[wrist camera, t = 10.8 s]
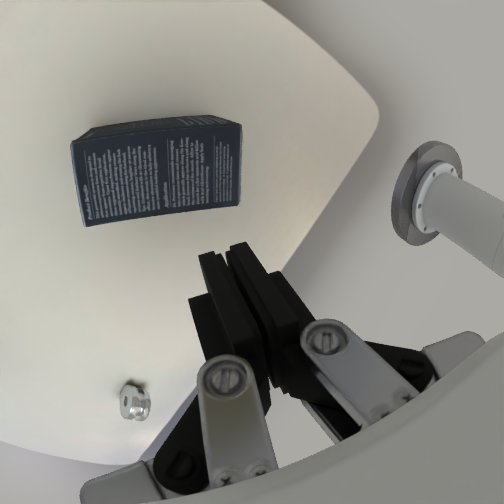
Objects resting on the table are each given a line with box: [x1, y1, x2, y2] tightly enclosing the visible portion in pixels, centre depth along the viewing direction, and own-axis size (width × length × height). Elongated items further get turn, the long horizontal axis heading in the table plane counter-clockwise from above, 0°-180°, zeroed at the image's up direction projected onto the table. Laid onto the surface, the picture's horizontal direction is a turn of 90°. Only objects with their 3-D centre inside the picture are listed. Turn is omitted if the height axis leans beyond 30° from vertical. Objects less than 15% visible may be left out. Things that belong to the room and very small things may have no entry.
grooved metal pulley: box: [120, 384, 151, 421], centre depth 34 cm, size 5×3×5 cm, turn 141°
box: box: [70, 115, 242, 227], centre depth 20 cm, size 8×6×11 cm
